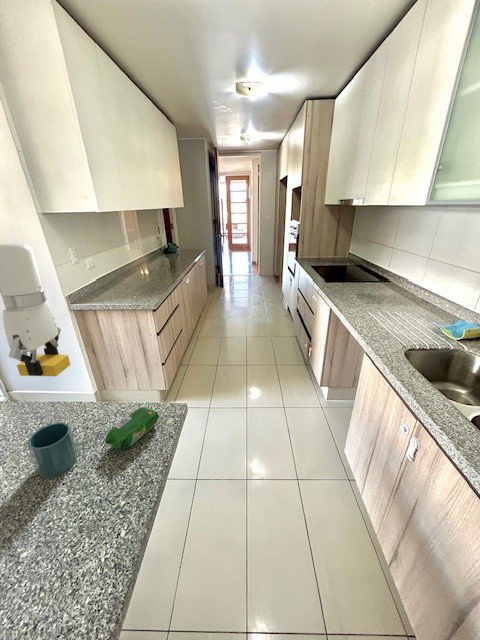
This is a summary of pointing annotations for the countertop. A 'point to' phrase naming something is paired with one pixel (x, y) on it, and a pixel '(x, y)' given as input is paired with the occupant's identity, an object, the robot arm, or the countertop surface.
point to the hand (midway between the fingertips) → (45, 367)
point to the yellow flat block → (47, 365)
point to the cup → (53, 450)
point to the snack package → (131, 428)
